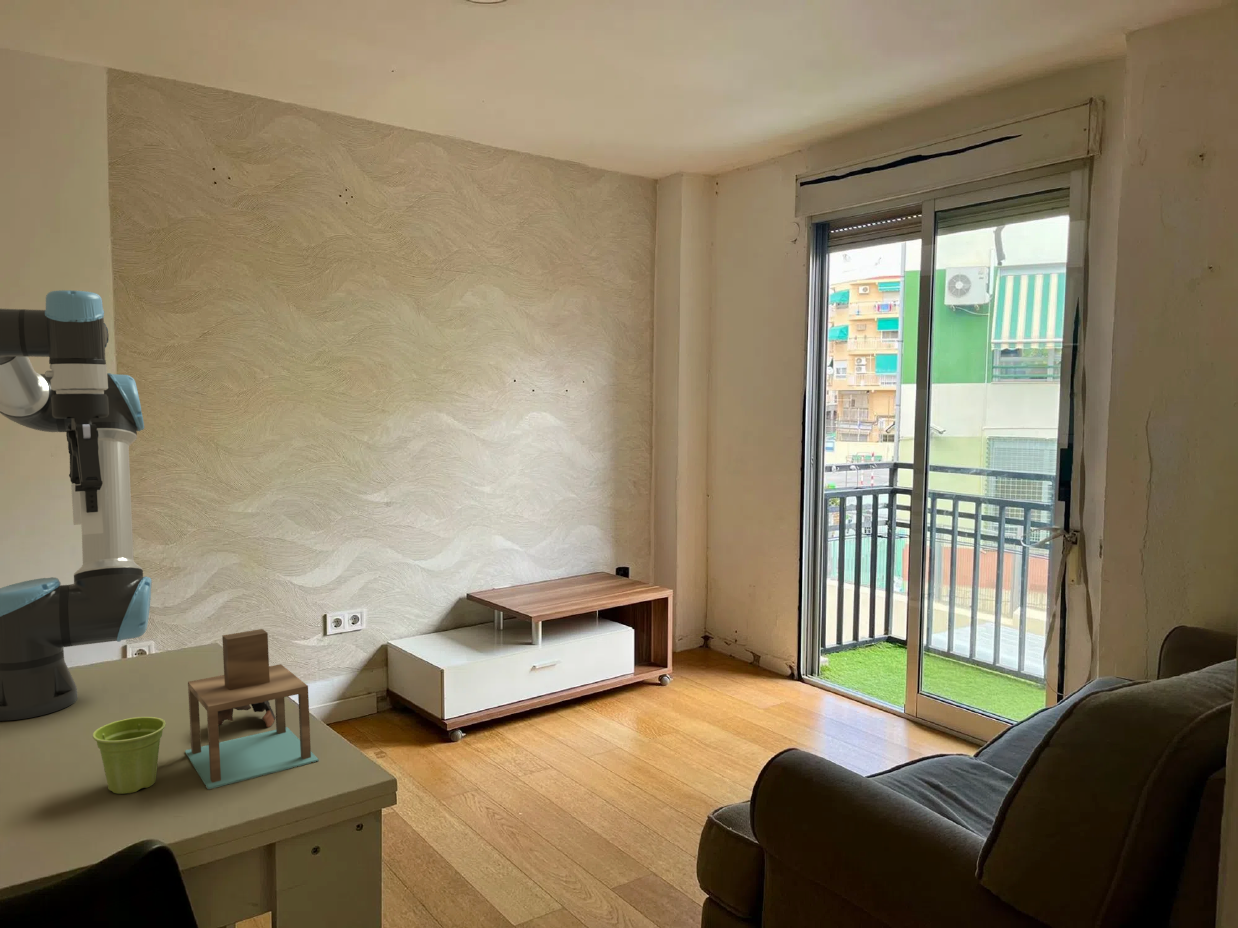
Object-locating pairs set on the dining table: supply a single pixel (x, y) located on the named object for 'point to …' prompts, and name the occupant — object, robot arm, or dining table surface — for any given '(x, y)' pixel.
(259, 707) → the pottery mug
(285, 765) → the teal mat
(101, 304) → the robot arm
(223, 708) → the brown piece
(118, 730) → the plant pot
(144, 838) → the dining table surface
